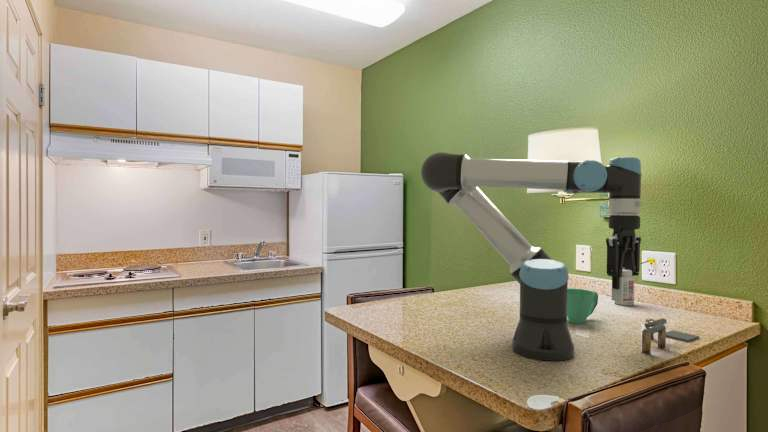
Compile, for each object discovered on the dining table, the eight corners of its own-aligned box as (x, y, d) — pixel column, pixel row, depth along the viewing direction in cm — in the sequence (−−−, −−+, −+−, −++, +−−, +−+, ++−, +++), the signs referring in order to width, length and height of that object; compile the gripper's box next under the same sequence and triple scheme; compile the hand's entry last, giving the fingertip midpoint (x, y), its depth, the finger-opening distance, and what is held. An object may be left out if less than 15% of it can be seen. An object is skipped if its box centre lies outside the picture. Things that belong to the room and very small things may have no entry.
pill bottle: (633, 303, 115) (633, 271, 115) (612, 301, 117) (613, 270, 117) (633, 300, 119) (633, 269, 119) (614, 298, 121) (614, 268, 121)
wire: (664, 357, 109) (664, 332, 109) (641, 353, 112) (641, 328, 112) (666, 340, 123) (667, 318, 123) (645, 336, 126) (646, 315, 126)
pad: (687, 342, 121) (687, 340, 121) (661, 335, 127) (661, 333, 127) (699, 338, 125) (699, 336, 125) (672, 332, 131) (672, 330, 131)
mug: (580, 327, 136) (581, 295, 136) (554, 320, 144) (554, 290, 144) (608, 321, 143) (609, 291, 143) (582, 314, 152) (582, 286, 152)
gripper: (620, 215, 110) (618, 306, 110) (655, 214, 119) (653, 298, 120) (592, 214, 116) (590, 300, 117) (627, 214, 126) (626, 293, 126)
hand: (622, 299), depth 118 cm, fingers closed on pill bottle, 5 cm apart
